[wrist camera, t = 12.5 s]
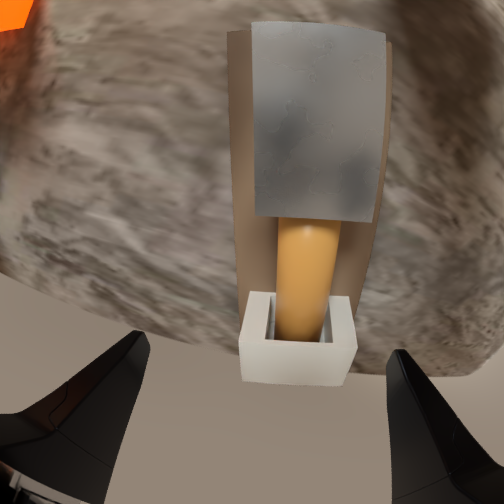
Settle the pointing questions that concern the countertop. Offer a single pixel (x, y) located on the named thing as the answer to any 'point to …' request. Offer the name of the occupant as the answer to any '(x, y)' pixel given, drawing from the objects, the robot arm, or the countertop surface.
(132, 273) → the countertop surface
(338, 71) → the steel sleeve
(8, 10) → the orange juice
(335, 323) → the white socket
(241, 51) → the walnut board
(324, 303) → the orange tube
